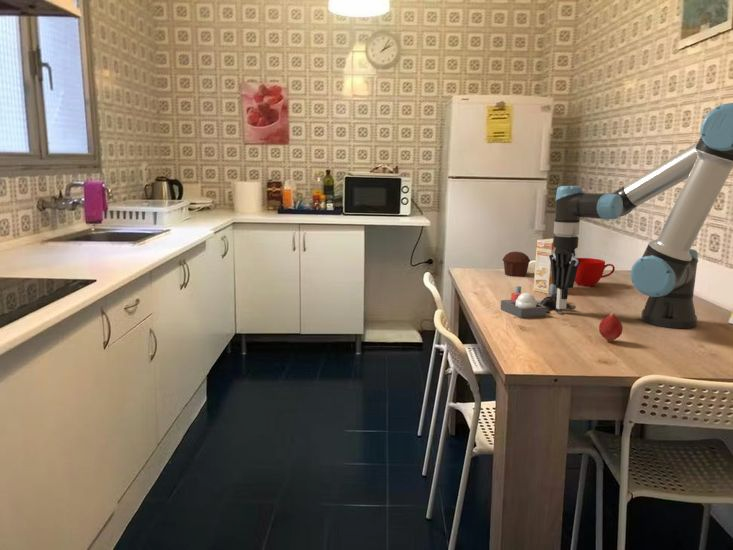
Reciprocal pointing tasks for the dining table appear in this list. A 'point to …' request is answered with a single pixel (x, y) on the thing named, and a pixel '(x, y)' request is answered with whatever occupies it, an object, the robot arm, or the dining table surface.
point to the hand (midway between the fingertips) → (561, 308)
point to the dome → (526, 300)
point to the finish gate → (552, 291)
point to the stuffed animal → (554, 304)
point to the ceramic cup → (590, 271)
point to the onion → (610, 328)
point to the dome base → (522, 312)
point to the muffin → (516, 264)
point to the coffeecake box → (543, 266)
